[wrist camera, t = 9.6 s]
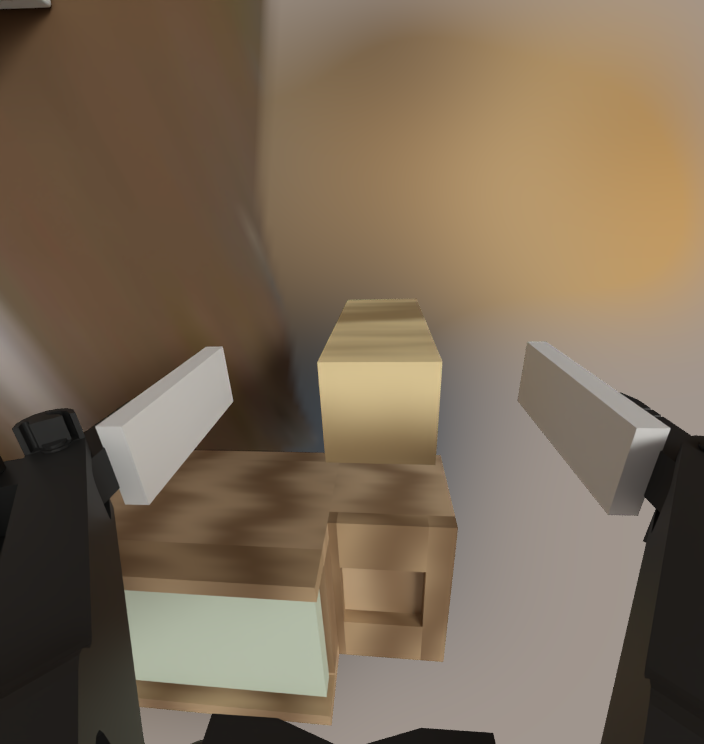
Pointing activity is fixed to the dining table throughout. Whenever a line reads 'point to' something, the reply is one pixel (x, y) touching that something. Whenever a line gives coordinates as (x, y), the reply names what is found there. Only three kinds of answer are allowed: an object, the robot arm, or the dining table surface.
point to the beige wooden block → (380, 385)
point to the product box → (24, 4)
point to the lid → (228, 642)
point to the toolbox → (298, 558)
